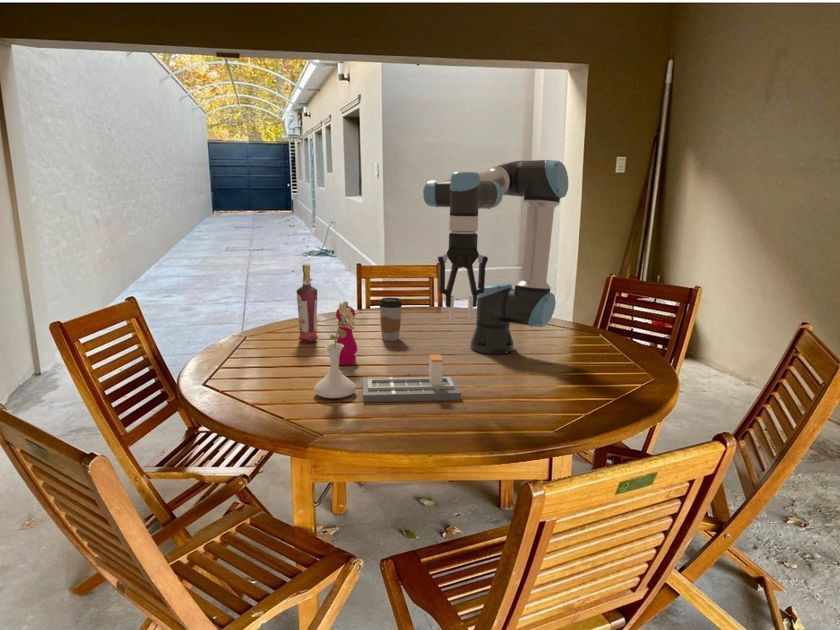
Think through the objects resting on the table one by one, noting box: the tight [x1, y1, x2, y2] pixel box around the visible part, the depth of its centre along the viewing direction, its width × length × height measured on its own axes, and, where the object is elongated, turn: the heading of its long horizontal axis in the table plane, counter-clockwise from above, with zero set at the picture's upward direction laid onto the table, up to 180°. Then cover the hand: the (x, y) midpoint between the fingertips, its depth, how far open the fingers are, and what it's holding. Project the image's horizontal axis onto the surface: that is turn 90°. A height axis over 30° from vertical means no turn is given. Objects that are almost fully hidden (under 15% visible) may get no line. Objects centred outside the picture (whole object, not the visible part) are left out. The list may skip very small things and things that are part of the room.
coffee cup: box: [378, 297, 403, 342], centre depth 212 cm, size 8×8×15 cm
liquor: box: [296, 264, 319, 344], centre depth 206 cm, size 7×7×28 cm
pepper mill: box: [335, 300, 358, 366], centre depth 183 cm, size 7×7×20 cm
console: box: [362, 375, 462, 403], centre depth 159 cm, size 26×14×3 cm, turn 96°
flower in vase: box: [313, 302, 357, 399], centre depth 154 cm, size 13×11×25 cm
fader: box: [428, 354, 444, 385], centre depth 158 cm, size 3×5×8 cm, turn 6°
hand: (460, 318), depth 156 cm, fingers open, 4 cm apart
